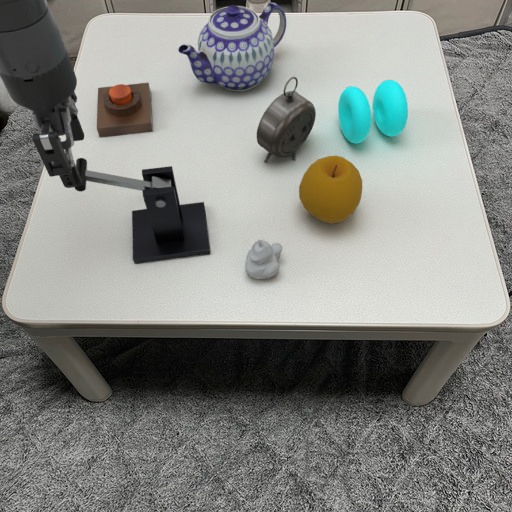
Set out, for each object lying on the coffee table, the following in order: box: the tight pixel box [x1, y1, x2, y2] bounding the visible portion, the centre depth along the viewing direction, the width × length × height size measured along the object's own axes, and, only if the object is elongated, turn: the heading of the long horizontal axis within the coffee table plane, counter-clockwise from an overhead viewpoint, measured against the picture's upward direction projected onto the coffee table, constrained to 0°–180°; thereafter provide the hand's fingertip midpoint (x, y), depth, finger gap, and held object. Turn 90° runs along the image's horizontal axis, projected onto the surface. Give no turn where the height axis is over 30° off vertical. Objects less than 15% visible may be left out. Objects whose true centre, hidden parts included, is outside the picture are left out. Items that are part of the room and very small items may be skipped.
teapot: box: [177, 2, 287, 92], centre depth 101 cm, size 25×15×15 cm, turn 125°
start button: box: [109, 83, 132, 105], centre depth 97 cm, size 4×4×2 cm
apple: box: [298, 155, 363, 224], centre depth 81 cm, size 10×10×12 cm
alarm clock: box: [256, 76, 317, 164], centre depth 87 cm, size 11×5×16 cm, turn 135°
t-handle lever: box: [74, 157, 171, 192], centre depth 73 cm, size 13×5×2 cm, turn 98°
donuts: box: [337, 79, 409, 144], centre depth 93 cm, size 10×10×10 cm
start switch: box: [96, 82, 154, 138], centre depth 99 cm, size 10×12×4 cm
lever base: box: [131, 165, 211, 265], centre depth 79 cm, size 12×10×13 cm
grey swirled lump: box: [245, 239, 283, 280], centre depth 77 cm, size 5×7×8 cm
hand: (75, 161), depth 68 cm, fingers open, 8 cm apart
